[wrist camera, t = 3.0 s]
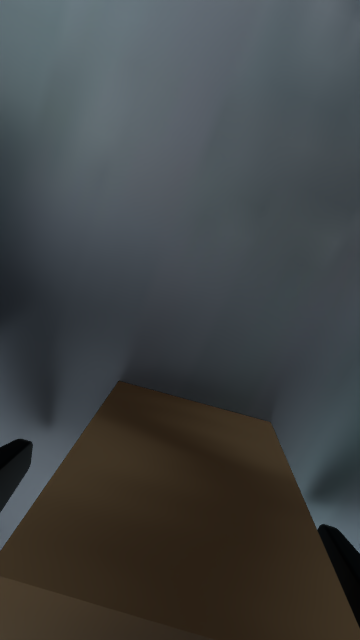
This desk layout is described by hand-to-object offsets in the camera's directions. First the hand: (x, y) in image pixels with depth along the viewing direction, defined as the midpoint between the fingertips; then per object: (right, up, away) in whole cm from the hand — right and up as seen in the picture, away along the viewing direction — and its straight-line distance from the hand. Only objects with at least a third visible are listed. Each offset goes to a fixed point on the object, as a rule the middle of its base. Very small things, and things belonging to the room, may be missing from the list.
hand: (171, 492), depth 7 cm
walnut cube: (0, 0, +1) cm, 1 cm away
